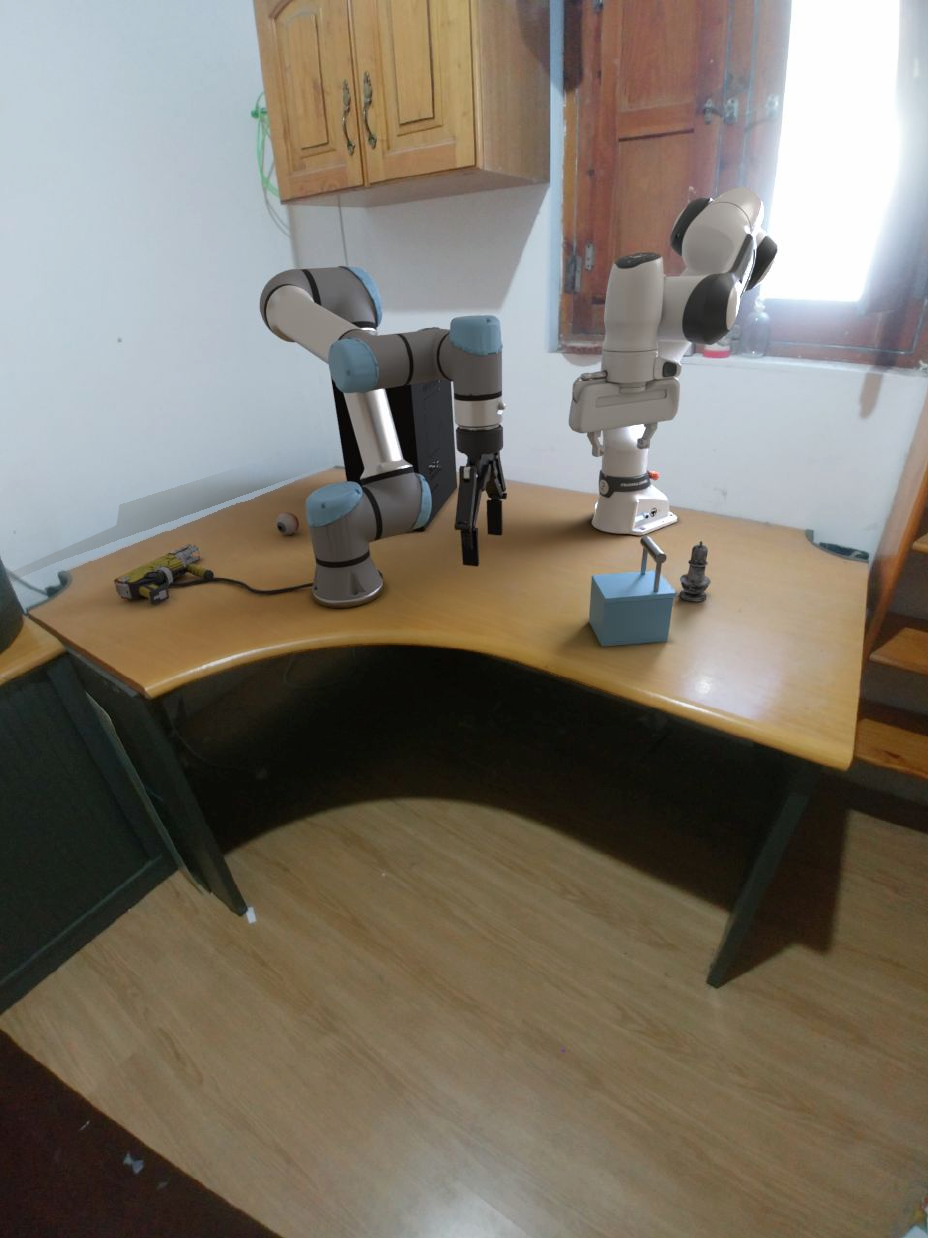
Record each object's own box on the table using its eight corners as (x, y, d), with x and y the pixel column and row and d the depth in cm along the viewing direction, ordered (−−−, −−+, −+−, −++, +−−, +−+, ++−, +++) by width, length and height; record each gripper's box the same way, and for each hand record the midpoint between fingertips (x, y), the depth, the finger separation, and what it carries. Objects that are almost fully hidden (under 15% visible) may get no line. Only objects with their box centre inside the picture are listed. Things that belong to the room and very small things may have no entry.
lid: (657, 574, 113) (662, 532, 109) (675, 597, 105) (682, 553, 101) (591, 579, 113) (593, 538, 108) (605, 603, 104) (608, 559, 100)
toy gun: (236, 552, 148) (186, 541, 152) (163, 592, 128) (107, 579, 132) (239, 569, 150) (189, 559, 154) (167, 611, 130) (112, 598, 134)
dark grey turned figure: (710, 602, 120) (719, 547, 114) (679, 601, 121) (687, 546, 115) (706, 589, 125) (715, 535, 119) (676, 588, 126) (683, 534, 120)
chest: (650, 616, 117) (655, 575, 113) (667, 641, 109) (673, 598, 105) (588, 621, 117) (591, 580, 113) (601, 646, 109) (605, 603, 104)
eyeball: (273, 537, 164) (268, 516, 161) (287, 528, 169) (282, 508, 166) (291, 539, 161) (286, 518, 158) (305, 530, 166) (301, 510, 163)
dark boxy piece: (424, 530, 162) (407, 348, 139) (353, 528, 166) (326, 351, 144) (457, 486, 193) (448, 332, 171) (397, 485, 198) (380, 334, 175)
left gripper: (476, 446, 84) (481, 582, 95) (522, 409, 104) (522, 524, 115) (426, 444, 86) (437, 577, 97) (481, 408, 106) (485, 521, 117)
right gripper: (584, 376, 94) (579, 464, 100) (690, 364, 100) (678, 448, 107) (563, 371, 99) (560, 456, 106) (665, 360, 105) (655, 440, 112)
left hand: (483, 549), depth 106 cm, fingers open, 13 cm apart
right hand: (620, 452), depth 106 cm, fingers open, 8 cm apart
